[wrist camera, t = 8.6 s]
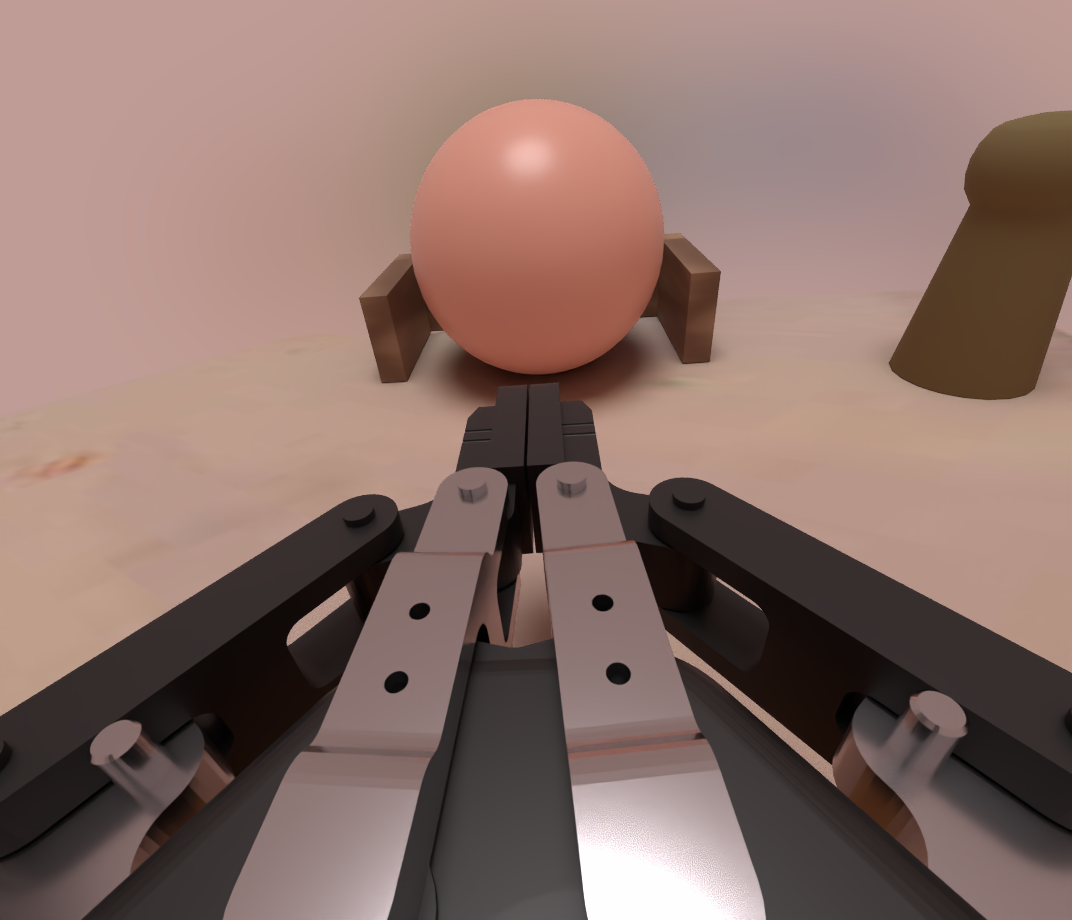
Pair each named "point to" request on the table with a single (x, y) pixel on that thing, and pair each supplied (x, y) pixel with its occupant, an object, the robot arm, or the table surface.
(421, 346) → the stall
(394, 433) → the table surface
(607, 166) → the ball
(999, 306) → the cork
